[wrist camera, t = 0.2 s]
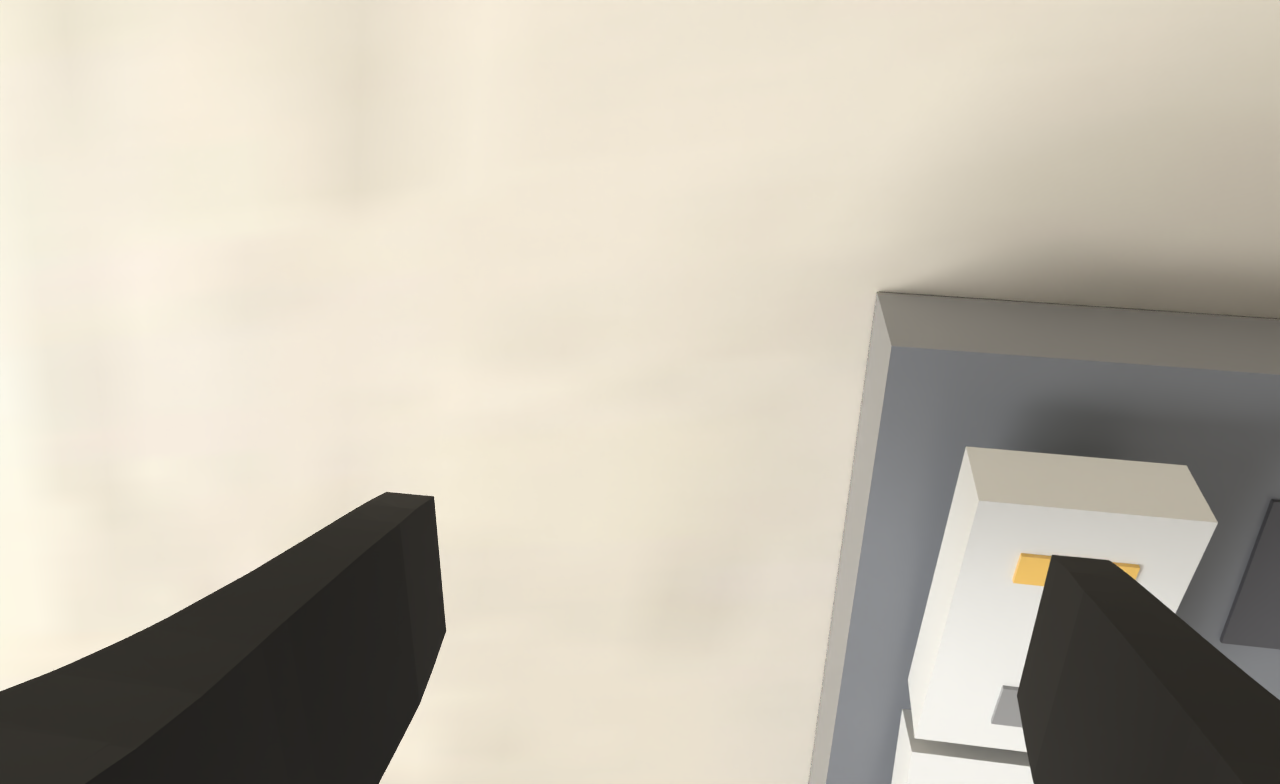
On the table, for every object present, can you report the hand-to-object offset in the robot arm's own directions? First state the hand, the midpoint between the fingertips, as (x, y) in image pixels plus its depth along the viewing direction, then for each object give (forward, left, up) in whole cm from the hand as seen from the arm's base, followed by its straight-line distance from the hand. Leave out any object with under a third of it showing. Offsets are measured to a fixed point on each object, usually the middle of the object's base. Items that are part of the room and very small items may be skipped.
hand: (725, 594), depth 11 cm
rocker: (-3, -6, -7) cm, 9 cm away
